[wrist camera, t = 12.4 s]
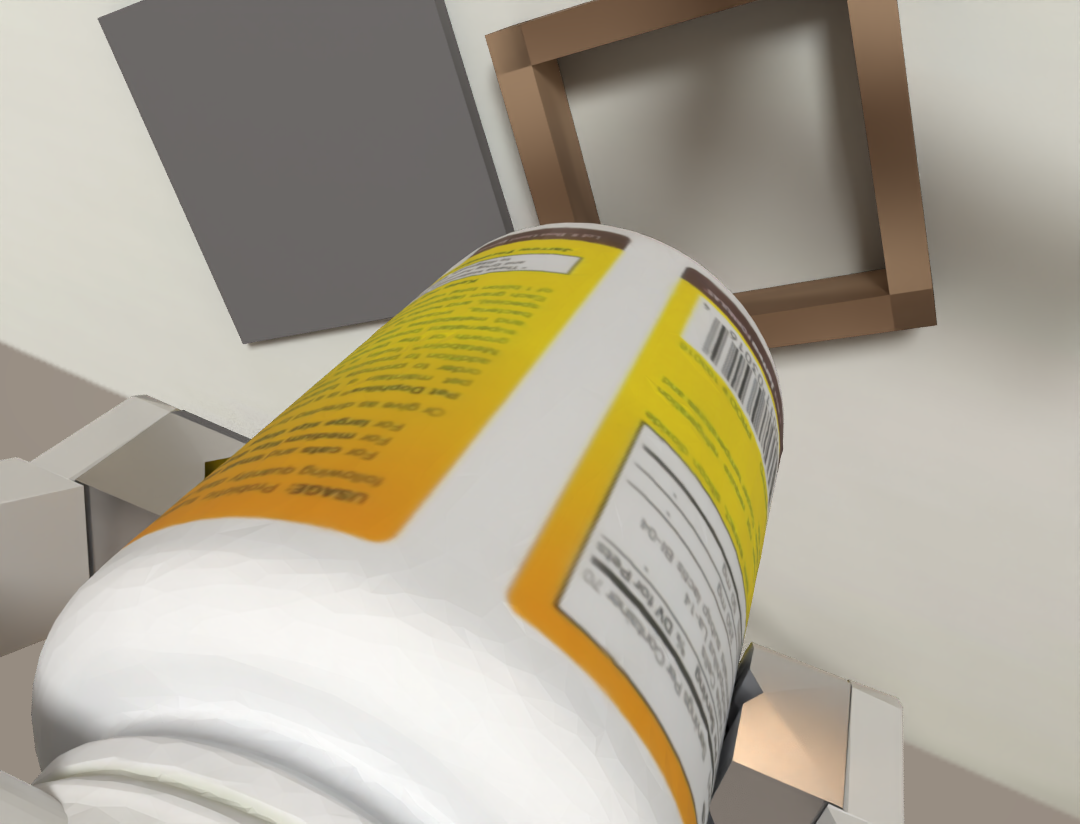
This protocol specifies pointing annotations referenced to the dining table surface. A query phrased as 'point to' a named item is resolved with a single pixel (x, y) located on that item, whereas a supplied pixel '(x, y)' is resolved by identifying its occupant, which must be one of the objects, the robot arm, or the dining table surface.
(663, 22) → the cup collar
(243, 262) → the rubber mat
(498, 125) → the dining table surface
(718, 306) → the supplement bottle
